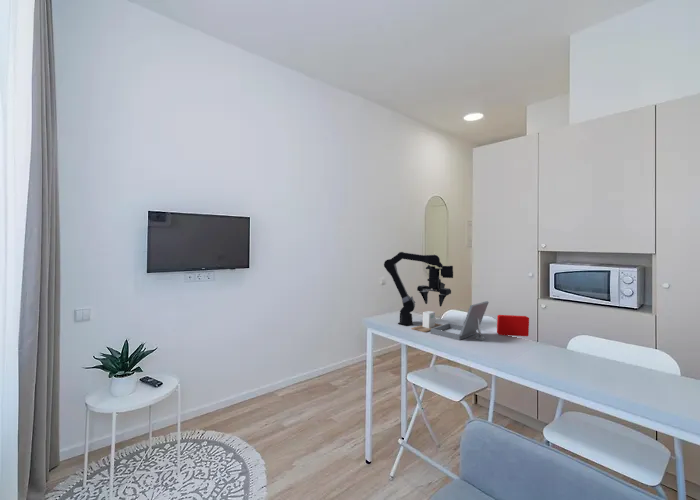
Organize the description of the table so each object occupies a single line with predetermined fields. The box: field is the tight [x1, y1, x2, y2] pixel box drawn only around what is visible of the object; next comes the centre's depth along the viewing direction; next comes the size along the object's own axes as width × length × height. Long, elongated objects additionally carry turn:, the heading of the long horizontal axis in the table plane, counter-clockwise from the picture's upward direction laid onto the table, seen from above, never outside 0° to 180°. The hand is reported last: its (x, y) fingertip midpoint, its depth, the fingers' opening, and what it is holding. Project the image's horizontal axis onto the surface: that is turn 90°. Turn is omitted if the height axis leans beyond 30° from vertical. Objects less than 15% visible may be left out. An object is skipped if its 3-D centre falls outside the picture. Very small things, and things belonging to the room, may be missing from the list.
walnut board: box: [411, 322, 442, 333], centre depth 191 cm, size 9×20×1 cm, turn 136°
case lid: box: [459, 300, 490, 336], centre depth 172 cm, size 16×19×1 cm
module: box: [422, 310, 436, 328], centre depth 190 cm, size 4×6×8 cm
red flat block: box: [496, 314, 530, 337], centre depth 180 cm, size 15×3×10 cm, turn 84°
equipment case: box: [430, 319, 485, 341], centre depth 177 cm, size 24×19×10 cm
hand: (433, 305), depth 193 cm, fingers open, 9 cm apart
